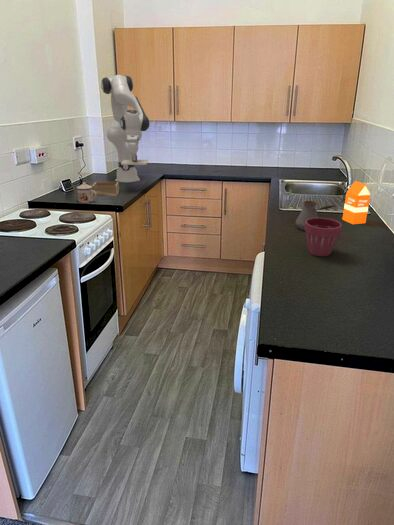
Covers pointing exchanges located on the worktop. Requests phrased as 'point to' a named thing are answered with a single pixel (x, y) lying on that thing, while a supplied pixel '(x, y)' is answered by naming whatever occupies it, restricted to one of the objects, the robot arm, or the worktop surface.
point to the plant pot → (322, 235)
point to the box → (105, 188)
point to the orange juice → (356, 203)
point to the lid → (134, 162)
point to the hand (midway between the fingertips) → (134, 159)
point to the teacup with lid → (85, 193)
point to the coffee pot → (308, 213)
